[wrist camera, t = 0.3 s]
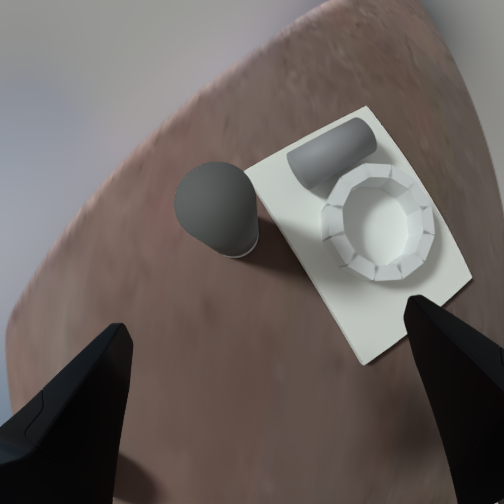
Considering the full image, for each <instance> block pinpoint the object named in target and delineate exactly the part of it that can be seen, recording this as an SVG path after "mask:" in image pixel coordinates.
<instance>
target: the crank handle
mask: <svg viewBox="0 0 504 504" xmlns="http://www.w3.org/2000/svg"><path fill="white" fill-rule="evenodd" d="M174 208H175V213H176V217H177V219H178V221H179V223H180V225H181V226H182V227H183V228H184V230H185V231H186V232H188V233H189V234H190V235H192V236H193V237H195V238H196V239H198V240H199V241H201V242H203V243H204V244H206V245H207V246H209V247H211V248H212V249H214V250H215V251H217V252H219V253H220V254H222V255H223V256H226V257H229V258H240V257H243V256H245V255H247V254H249V253H250V252H251V251H252V250H253V249H254V248H255V246H256V244H257V242H258V238H259V229H258V217H257V205H256V194H255V189H254V186H253V184H252V182H251V180H250V179H249V177H248V176H247V175H246V174H245V173H244V172H243V171H242V170H241V169H239V168H238V167H236V166H234V165H231V164H228V163H224V162H210V163H205V164H202V165H200V166H198V167H196V168H194V169H193V170H191V171H190V172H189V173H188V174H187V175H186V176H185V177H184V178H183V179H182V181H181V182H180V184H179V186H178V188H177V191H176V194H175V200H174Z"/></svg>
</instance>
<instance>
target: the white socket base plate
mask: <svg viewBox="0 0 504 504" xmlns="http://www.w3.org/2000/svg"><path fill="white" fill-rule="evenodd" d="M244 173H245V174H246V175H247V176H248V177H249V179H250V180H251V182H252V184H253V186H254V189H255V192H256V194H257V195H258V197H259V198H260V200H261V201H262V203H263V205H264V206H265V208H266V209H267V211H268V212H269V214H270V215H271V217H272V219H273V220H274V222H275V223H276V225H277V226H278V228H279V230H280V231H281V233H282V234H283V236H284V237H285V239H286V241H287V242H288V244H289V245H290V247H291V249H292V250H293V252H294V253H295V255H296V257H297V258H298V260H299V261H300V263H301V265H302V266H303V268H304V270H305V271H306V273H307V274H308V276H309V278H310V279H311V281H312V283H313V284H314V286H315V288H316V289H317V291H318V292H319V294H320V296H321V297H322V299H323V301H324V302H325V304H326V306H327V307H328V309H329V311H330V312H331V314H332V316H333V317H334V319H335V321H336V322H337V324H338V326H339V328H340V329H341V331H342V333H343V334H344V336H345V338H346V339H347V341H348V343H349V345H350V346H351V348H352V350H353V351H354V353H355V355H356V357H357V358H358V360H359V362H360V363H361V364H362V365H365V364H367V363H368V362H370V361H371V360H373V359H374V358H375V357H377V356H378V355H380V354H381V353H382V352H384V351H385V350H387V349H388V348H389V347H391V346H392V345H393V344H395V343H396V342H397V341H399V340H400V339H401V338H403V337H404V336H405V335H406V334H407V331H406V328H405V324H404V320H403V315H404V311H405V307H406V304H407V300H408V298H409V296H411V295H417V294H421V295H423V296H425V297H426V298H428V299H429V300H431V301H433V302H434V303H436V304H437V305H439V306H440V307H441V306H442V305H443V304H444V303H445V302H446V301H447V300H449V299H450V298H451V297H452V296H453V295H454V294H455V293H456V292H457V291H459V290H460V289H461V288H462V287H463V286H464V285H465V284H466V283H467V282H468V281H469V280H470V279H471V278H472V276H471V274H470V271H469V269H468V267H467V265H466V263H465V261H464V258H463V256H462V254H461V252H460V250H459V248H458V246H457V244H456V242H455V240H454V238H453V236H452V235H451V233H450V231H449V229H448V227H447V225H446V223H445V222H444V220H443V218H442V216H441V214H440V213H439V211H438V209H437V207H436V206H435V204H434V202H433V201H432V199H431V197H430V196H429V194H428V192H427V191H426V189H425V187H424V186H423V184H422V183H421V181H420V179H419V178H418V176H417V175H416V173H415V172H414V170H413V169H412V167H411V166H410V164H409V163H408V161H407V160H406V158H405V157H404V155H403V154H402V152H401V151H400V149H399V148H398V147H397V145H396V144H395V142H394V141H393V140H392V138H391V137H390V136H389V134H388V133H387V131H386V130H385V129H384V127H383V126H382V125H381V124H380V122H379V121H378V120H377V118H376V117H375V116H374V115H373V113H372V112H371V111H370V110H369V108H368V107H367V106H365V107H363V108H361V109H359V110H357V111H355V112H353V113H351V114H349V115H347V116H345V117H343V118H341V119H339V120H337V121H335V122H333V123H331V124H329V125H327V126H325V127H323V128H321V129H319V130H317V131H315V132H314V133H312V134H310V135H308V136H306V137H304V138H302V139H300V140H298V141H297V142H295V143H293V144H291V145H289V146H287V147H286V148H284V149H282V150H280V151H278V152H277V153H275V154H273V155H271V156H269V157H268V158H266V159H264V160H262V161H261V162H259V163H257V164H255V165H254V166H252V167H250V168H248V169H247V170H245V171H244Z"/></svg>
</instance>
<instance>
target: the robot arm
mask: <svg viewBox="0 0 504 504" xmlns="http://www.w3.org/2000/svg"><path fill="white" fill-rule="evenodd" d="M403 320H404V324H405V328H406V331H407V335H408V338H409V342H410V346H411V349H412V353H413V356H414V360H415V363H416V366H417V368H418V371H419V374H420V376H421V379H422V382H423V385H424V387H425V390H426V393H427V396H428V399H429V402H430V405H431V407H432V410H433V413H434V417H435V420H436V423H437V426H438V429H439V432H440V436H441V439H442V442H443V446H444V449H445V453H446V456H447V460H448V464H449V467H450V472H451V476H452V480H453V484H454V488H455V493H456V497H457V502H458V504H495V503H497V502H498V503H499V504H504V348H502V347H499V345H498V344H496V343H495V342H493V341H492V340H491V339H489V338H488V337H486V336H485V335H483V334H482V333H480V332H479V331H477V330H476V329H474V328H473V327H471V326H470V325H468V324H467V323H465V322H464V321H462V320H461V319H459V318H457V317H456V316H454V315H453V314H451V313H450V312H448V311H447V310H445V309H444V308H442V307H440V306H439V305H437V304H436V303H434V302H433V301H431V300H429V299H428V298H426V297H425V296H423V295H421V294H417V295H411V296H409V298H408V300H407V304H406V307H405V311H404V315H403ZM132 355H133V341H132V339H131V337H130V334H129V332H128V330H127V328H126V326H125V325H124V324H123V323H112V324H110V325H109V326H108V327H107V328H106V329H105V330H104V331H103V332H101V333H100V334H99V335H98V336H97V337H96V338H95V339H94V340H93V341H92V342H91V343H90V344H89V345H87V346H86V347H85V348H84V349H83V350H82V351H81V352H80V353H79V354H78V355H77V356H76V357H75V358H74V359H73V360H72V361H71V362H70V363H68V364H67V365H66V366H65V367H64V368H63V369H62V370H61V371H60V372H59V373H58V374H57V375H56V376H55V377H54V378H53V379H52V380H51V381H50V382H49V383H48V384H47V385H46V386H45V387H44V388H43V390H41V391H40V392H39V393H38V394H37V395H36V396H35V397H33V398H32V399H31V400H30V401H29V402H28V403H27V404H26V405H25V406H24V407H23V408H22V409H21V410H19V411H18V412H17V413H16V414H15V415H14V416H12V417H11V418H10V419H9V420H8V421H7V422H5V423H4V424H3V425H2V426H1V427H0V504H112V502H113V499H112V498H113V491H114V482H115V474H116V466H117V459H118V452H119V445H120V438H121V432H122V426H123V420H124V414H125V409H126V403H127V398H128V393H129V387H130V376H131V365H132Z"/></svg>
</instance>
